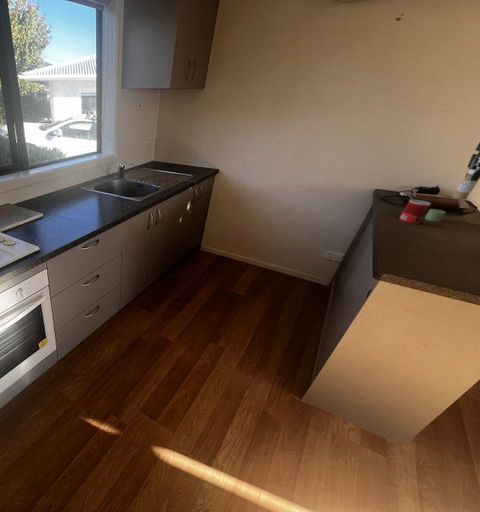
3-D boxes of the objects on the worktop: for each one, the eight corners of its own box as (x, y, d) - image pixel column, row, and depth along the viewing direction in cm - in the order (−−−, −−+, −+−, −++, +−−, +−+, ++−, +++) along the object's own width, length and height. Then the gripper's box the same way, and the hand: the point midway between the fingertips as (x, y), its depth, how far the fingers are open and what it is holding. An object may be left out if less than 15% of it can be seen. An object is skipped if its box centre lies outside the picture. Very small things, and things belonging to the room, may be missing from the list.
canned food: (417, 226, 147) (430, 205, 141) (396, 221, 152) (408, 201, 147) (419, 222, 151) (432, 202, 146) (399, 217, 156) (410, 198, 151)
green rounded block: (430, 217, 157) (435, 208, 155) (443, 221, 152) (449, 212, 150) (421, 218, 156) (426, 209, 154) (434, 222, 151) (440, 213, 149)
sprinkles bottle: (456, 196, 142) (474, 168, 135) (468, 199, 138) (487, 170, 131) (449, 197, 141) (467, 169, 134) (462, 200, 137) (481, 171, 130)
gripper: (517, 142, 120) (490, 183, 128) (497, 138, 131) (474, 176, 139) (491, 141, 123) (466, 181, 131) (473, 137, 134) (452, 175, 142)
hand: (470, 178), depth 135 cm, fingers closed on sprinkles bottle, 4 cm apart
